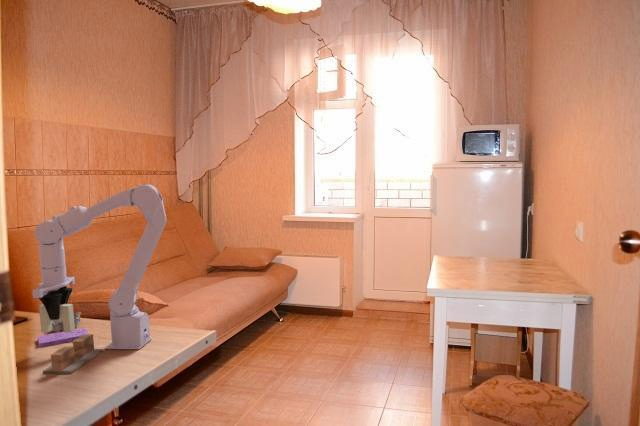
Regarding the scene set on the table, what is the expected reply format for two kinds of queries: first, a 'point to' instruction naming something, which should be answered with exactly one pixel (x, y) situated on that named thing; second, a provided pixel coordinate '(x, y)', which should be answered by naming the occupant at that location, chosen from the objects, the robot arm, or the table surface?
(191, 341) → the table surface
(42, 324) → the cream h-shaped block
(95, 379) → the table surface
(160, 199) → the robot arm
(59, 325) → the egg carton
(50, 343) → the sponges
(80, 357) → the slotted base
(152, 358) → the table surface
